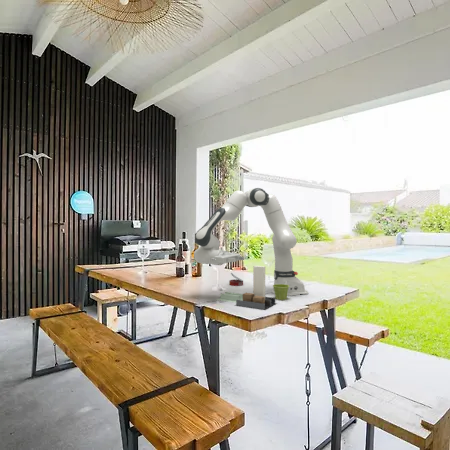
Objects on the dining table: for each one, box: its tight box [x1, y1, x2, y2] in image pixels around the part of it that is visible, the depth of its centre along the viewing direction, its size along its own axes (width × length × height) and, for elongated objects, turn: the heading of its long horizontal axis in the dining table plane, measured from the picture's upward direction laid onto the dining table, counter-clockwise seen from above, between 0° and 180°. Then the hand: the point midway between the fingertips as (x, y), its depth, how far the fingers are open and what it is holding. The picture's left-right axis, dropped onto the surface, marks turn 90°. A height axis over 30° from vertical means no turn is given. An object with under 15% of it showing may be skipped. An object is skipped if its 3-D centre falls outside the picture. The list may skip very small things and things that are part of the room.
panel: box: [252, 265, 266, 297], centre depth 192 cm, size 2×6×20 cm, turn 59°
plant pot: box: [272, 284, 289, 301], centre depth 203 cm, size 9×9×9 cm
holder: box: [215, 291, 244, 304], centre depth 201 cm, size 12×14×4 cm
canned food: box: [229, 272, 244, 287], centre depth 250 cm, size 11×10×10 cm
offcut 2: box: [253, 296, 266, 303], centre depth 185 cm, size 4×5×5 cm
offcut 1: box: [242, 292, 254, 302], centre depth 188 cm, size 4×5×6 cm
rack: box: [233, 296, 278, 311], centre depth 189 cm, size 16×18×4 cm
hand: (239, 259), depth 198 cm, fingers open, 8 cm apart
